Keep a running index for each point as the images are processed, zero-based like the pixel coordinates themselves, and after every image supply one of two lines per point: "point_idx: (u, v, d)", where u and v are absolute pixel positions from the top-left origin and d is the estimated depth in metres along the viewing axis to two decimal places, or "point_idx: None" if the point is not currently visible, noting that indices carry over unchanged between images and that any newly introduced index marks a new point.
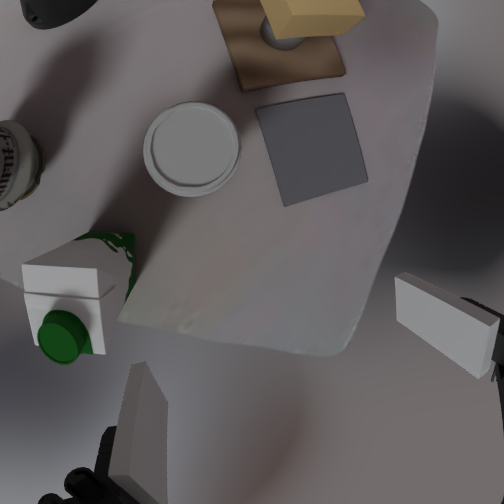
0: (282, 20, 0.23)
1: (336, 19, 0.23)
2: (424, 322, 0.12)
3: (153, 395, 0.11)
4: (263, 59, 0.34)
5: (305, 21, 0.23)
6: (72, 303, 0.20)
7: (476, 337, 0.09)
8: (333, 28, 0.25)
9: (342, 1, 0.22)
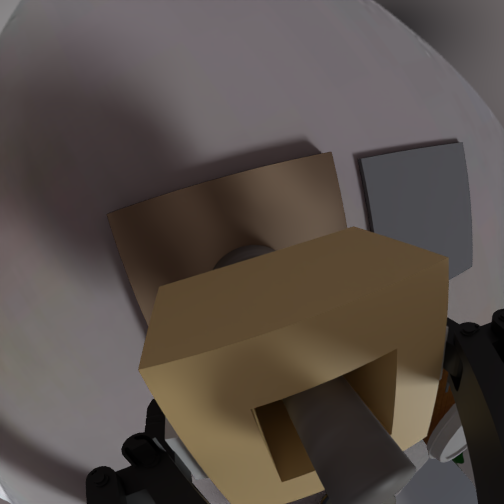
0: None
1: None
2: None
3: None
4: None
5: None
6: None
7: None
8: None
9: (398, 344, 0.08)
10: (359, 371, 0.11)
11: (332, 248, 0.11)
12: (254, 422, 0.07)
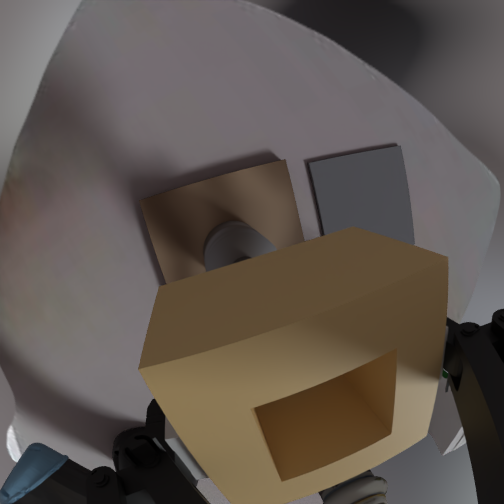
0: None
1: None
2: None
3: None
4: None
5: None
6: None
7: None
8: None
9: (397, 343, 0.08)
10: (359, 371, 0.11)
11: (332, 248, 0.11)
12: (254, 421, 0.07)
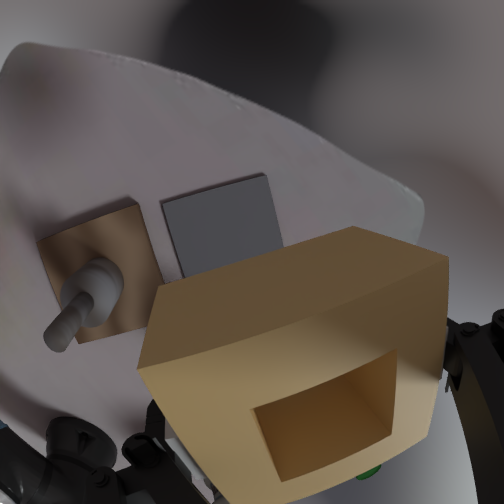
0: None
1: None
2: None
3: None
4: (139, 300, 0.37)
5: None
6: None
7: None
8: None
9: (398, 343, 0.08)
10: (359, 371, 0.11)
11: (332, 248, 0.11)
12: (253, 422, 0.07)
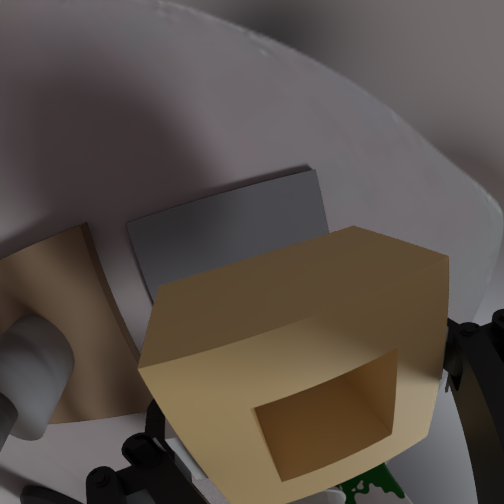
0: None
1: None
2: None
3: None
4: (101, 382, 0.20)
5: None
6: None
7: None
8: None
9: (398, 343, 0.08)
10: (359, 371, 0.11)
11: (333, 247, 0.11)
12: (254, 422, 0.07)
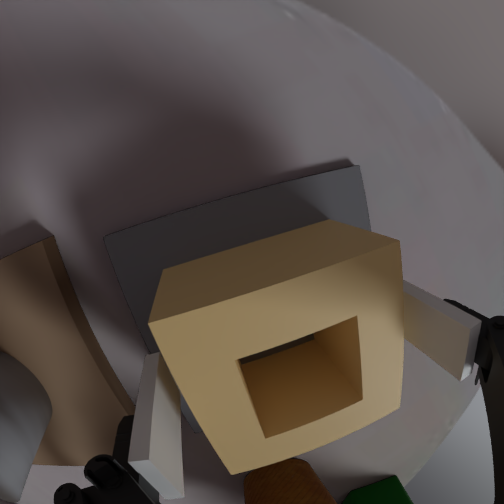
0: None
1: None
2: (408, 324, 0.12)
3: (167, 385, 0.12)
4: (86, 430, 0.14)
5: None
6: None
7: (457, 339, 0.09)
8: None
9: (358, 312, 0.10)
10: (334, 343, 0.14)
11: (307, 236, 0.13)
12: (238, 373, 0.10)
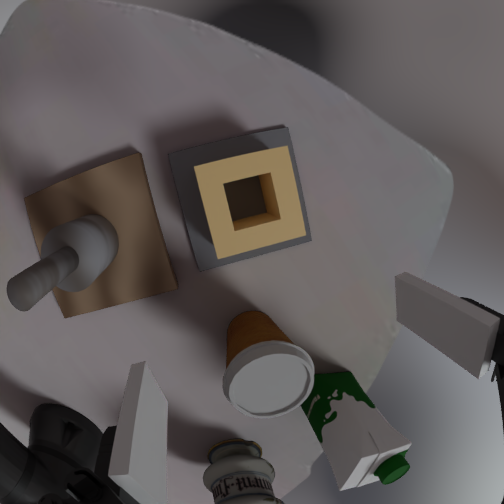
0: None
1: None
2: (424, 323, 0.12)
3: (153, 395, 0.11)
4: (135, 266, 0.32)
5: None
6: (375, 465, 0.25)
7: (476, 337, 0.09)
8: None
9: (271, 172, 0.27)
10: (270, 200, 0.31)
11: None
12: (224, 190, 0.27)
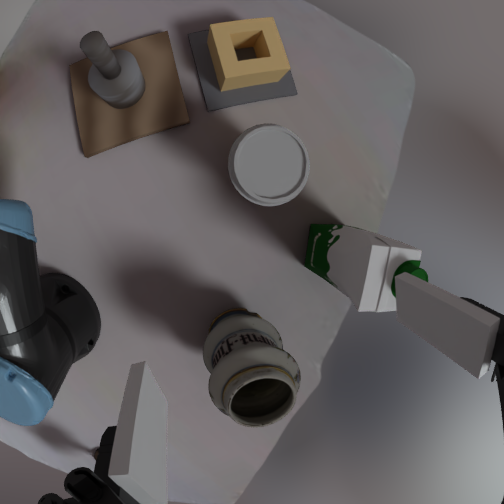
0: (279, 75, 0.36)
1: None
2: (424, 323, 0.12)
3: (153, 395, 0.11)
4: (156, 103, 0.36)
5: None
6: (390, 268, 0.30)
7: (476, 337, 0.09)
8: None
9: (262, 30, 0.32)
10: (263, 54, 0.35)
11: None
12: (230, 37, 0.31)
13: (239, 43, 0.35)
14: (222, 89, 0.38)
